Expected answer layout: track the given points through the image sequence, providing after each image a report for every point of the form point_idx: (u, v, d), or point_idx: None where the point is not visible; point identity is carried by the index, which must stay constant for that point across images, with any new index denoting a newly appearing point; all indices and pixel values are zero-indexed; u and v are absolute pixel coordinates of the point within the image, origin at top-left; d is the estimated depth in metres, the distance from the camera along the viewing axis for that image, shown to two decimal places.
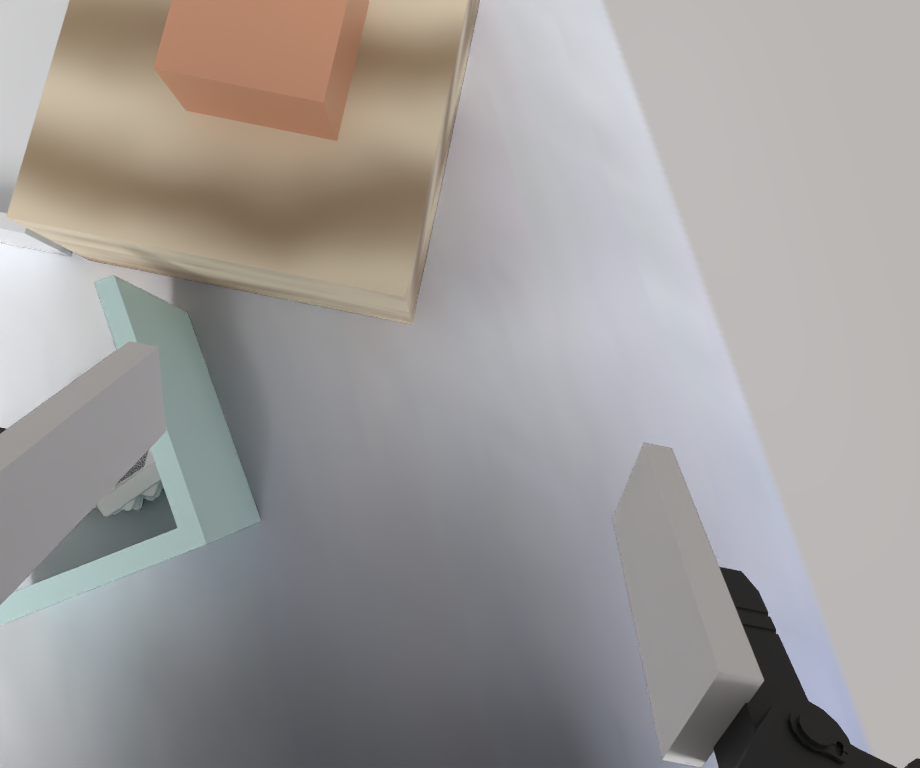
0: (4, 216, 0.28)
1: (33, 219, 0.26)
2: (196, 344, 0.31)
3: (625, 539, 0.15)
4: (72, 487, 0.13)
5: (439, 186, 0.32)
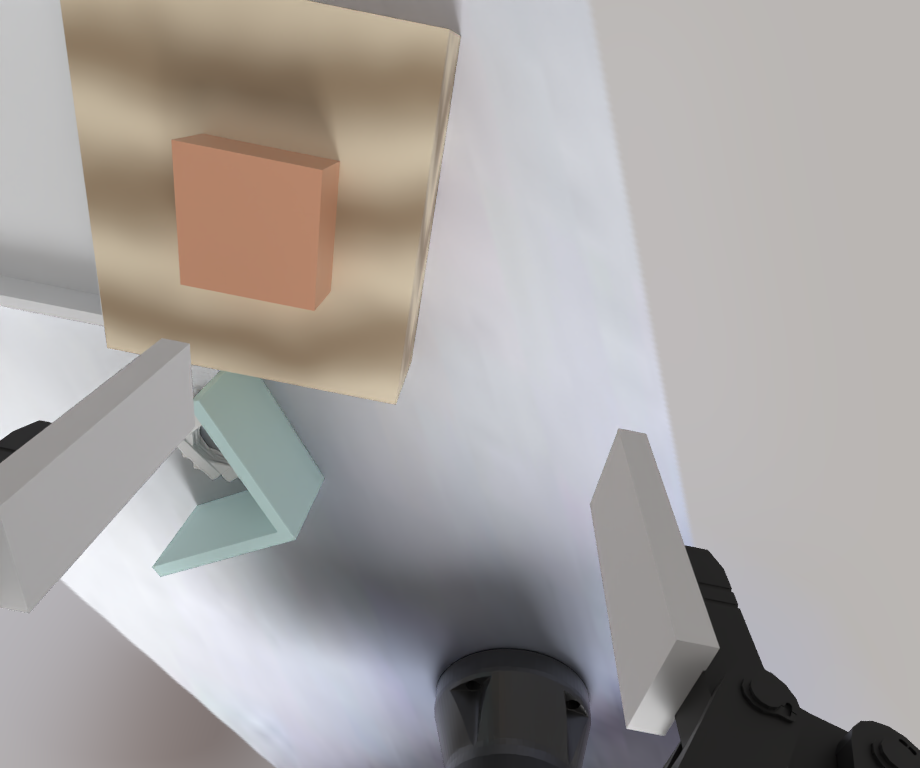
0: (97, 316, 0.37)
1: (125, 348, 0.35)
2: None
3: (600, 521, 0.15)
4: (112, 479, 0.13)
5: (425, 261, 0.36)
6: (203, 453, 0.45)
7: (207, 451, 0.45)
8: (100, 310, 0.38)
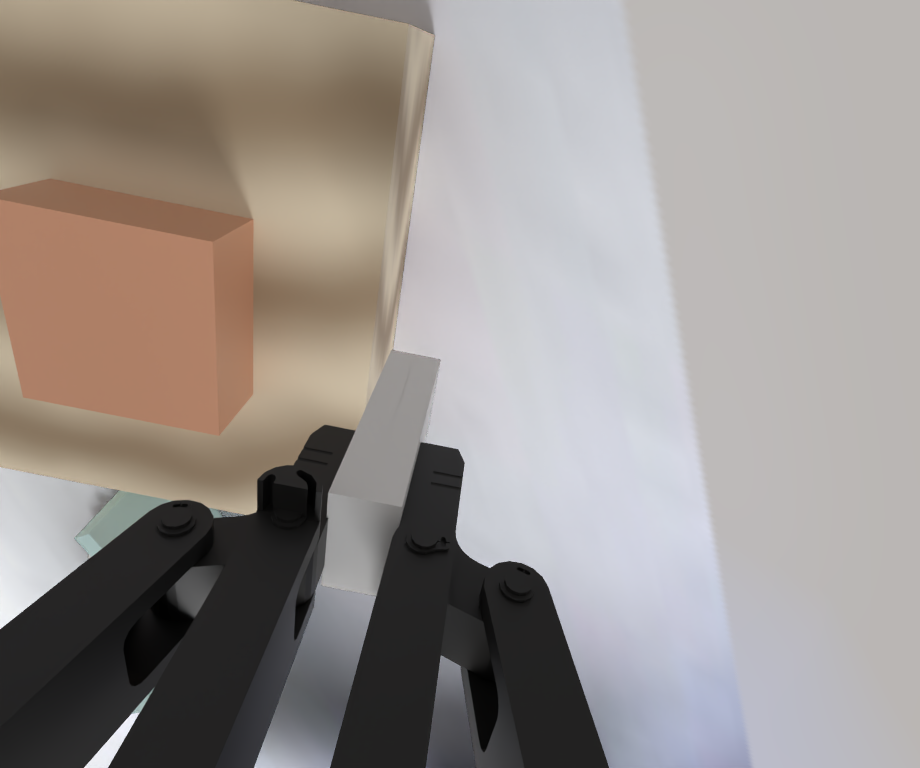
0: None
1: None
2: None
3: None
4: None
5: (391, 338, 0.27)
6: None
7: None
8: None
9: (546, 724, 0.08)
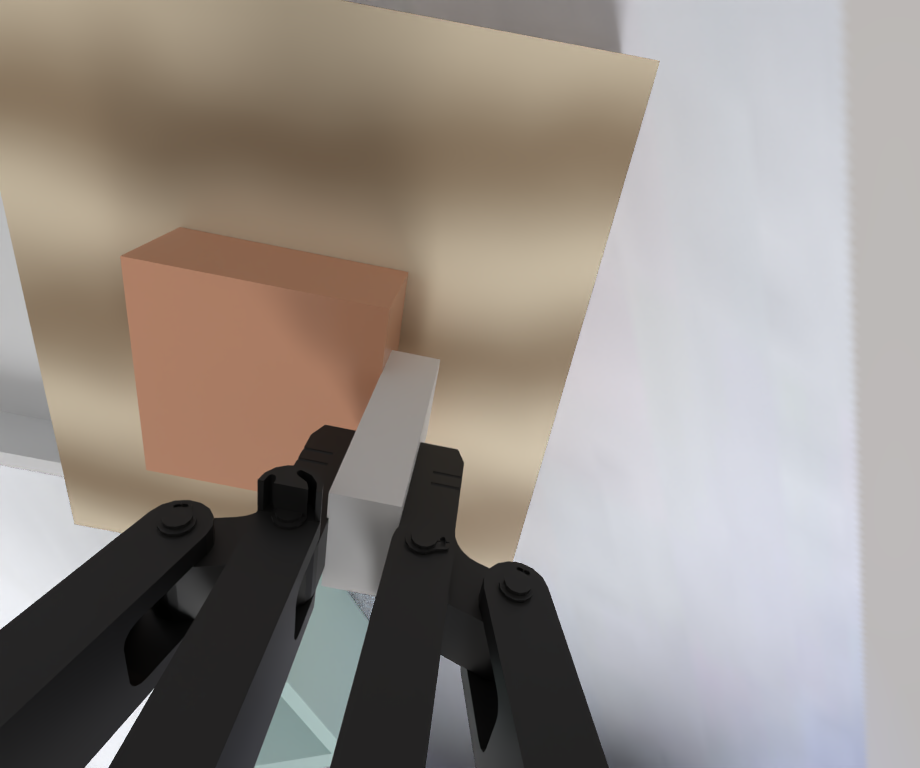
0: None
1: (102, 525, 0.24)
2: None
3: None
4: None
5: None
6: None
7: None
8: None
9: (546, 724, 0.08)
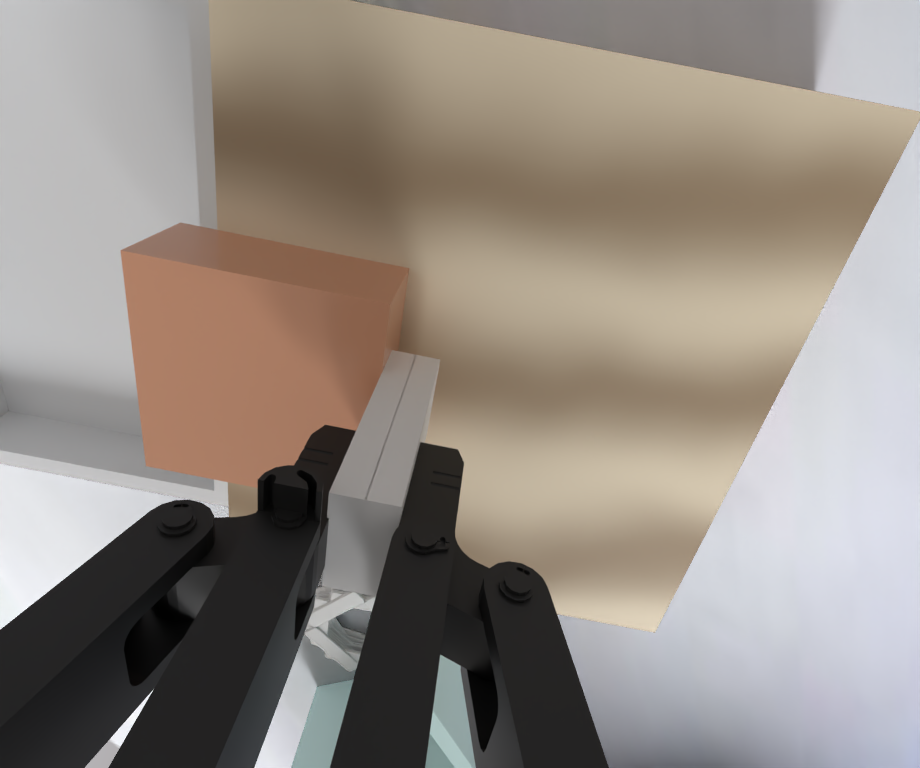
0: (206, 492, 0.26)
1: None
2: None
3: None
4: None
5: None
6: (338, 639, 0.34)
7: (342, 635, 0.34)
8: (209, 481, 0.26)
9: (545, 724, 0.08)
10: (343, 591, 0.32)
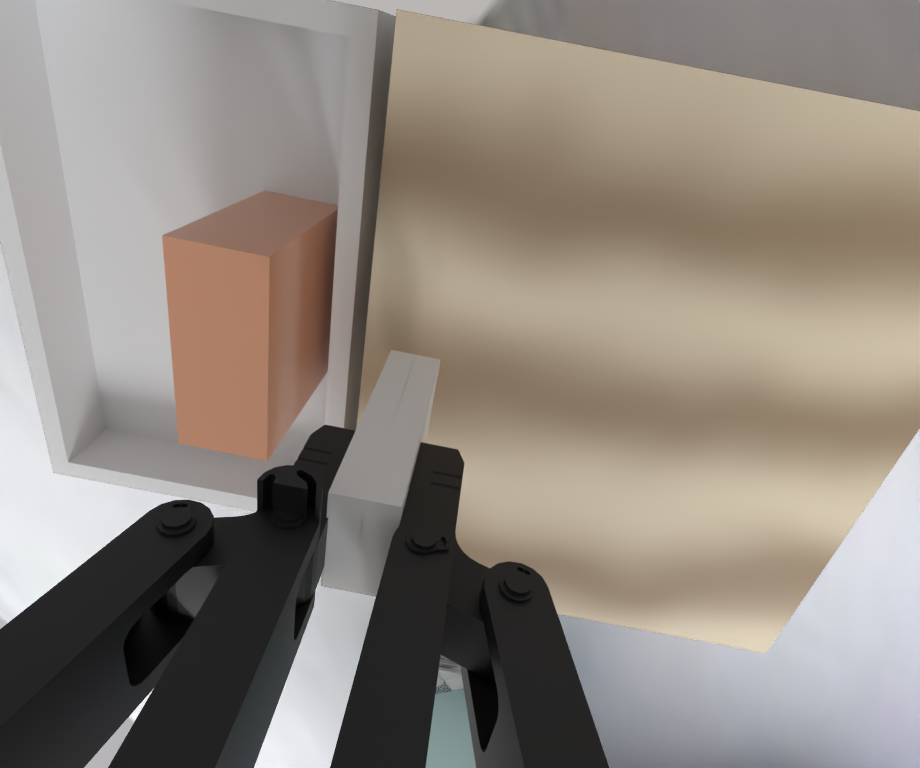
0: None
1: None
2: None
3: None
4: None
5: None
6: None
7: None
8: None
9: (546, 724, 0.08)
10: None
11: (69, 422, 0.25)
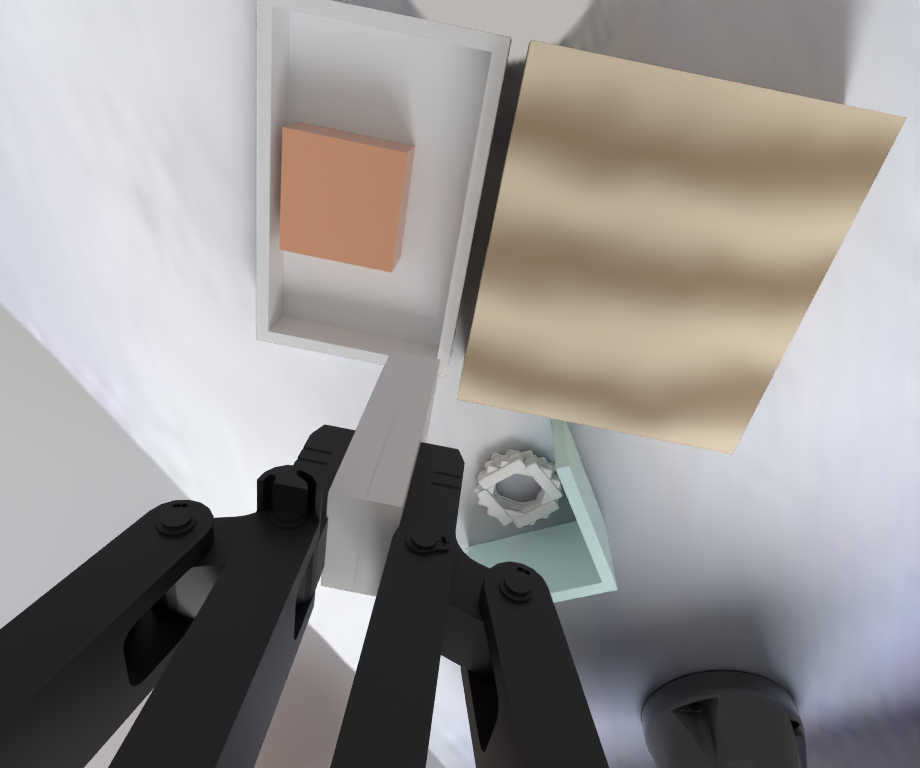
0: None
1: (474, 400, 0.37)
2: None
3: None
4: None
5: None
6: (497, 501, 0.47)
7: (500, 499, 0.47)
8: None
9: (546, 724, 0.08)
10: (509, 460, 0.45)
11: (271, 303, 0.38)
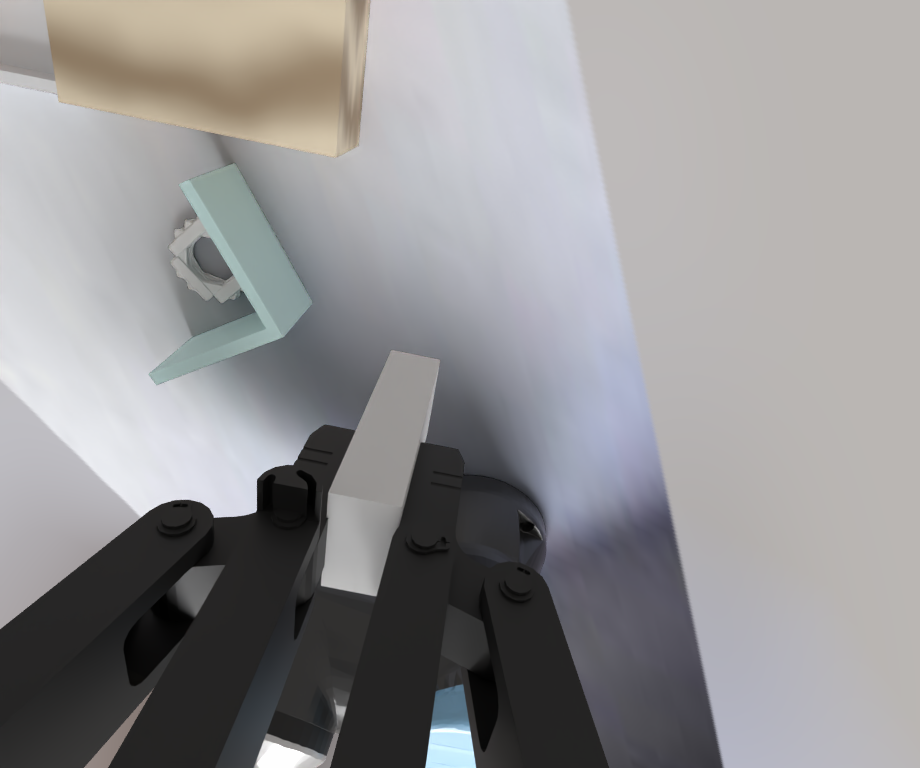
0: (51, 83, 0.39)
1: (76, 102, 0.37)
2: (247, 188, 0.44)
3: None
4: None
5: (365, 23, 0.38)
6: (197, 274, 0.47)
7: (201, 273, 0.48)
8: (54, 79, 0.39)
9: (546, 724, 0.08)
10: (194, 222, 0.45)
11: None
